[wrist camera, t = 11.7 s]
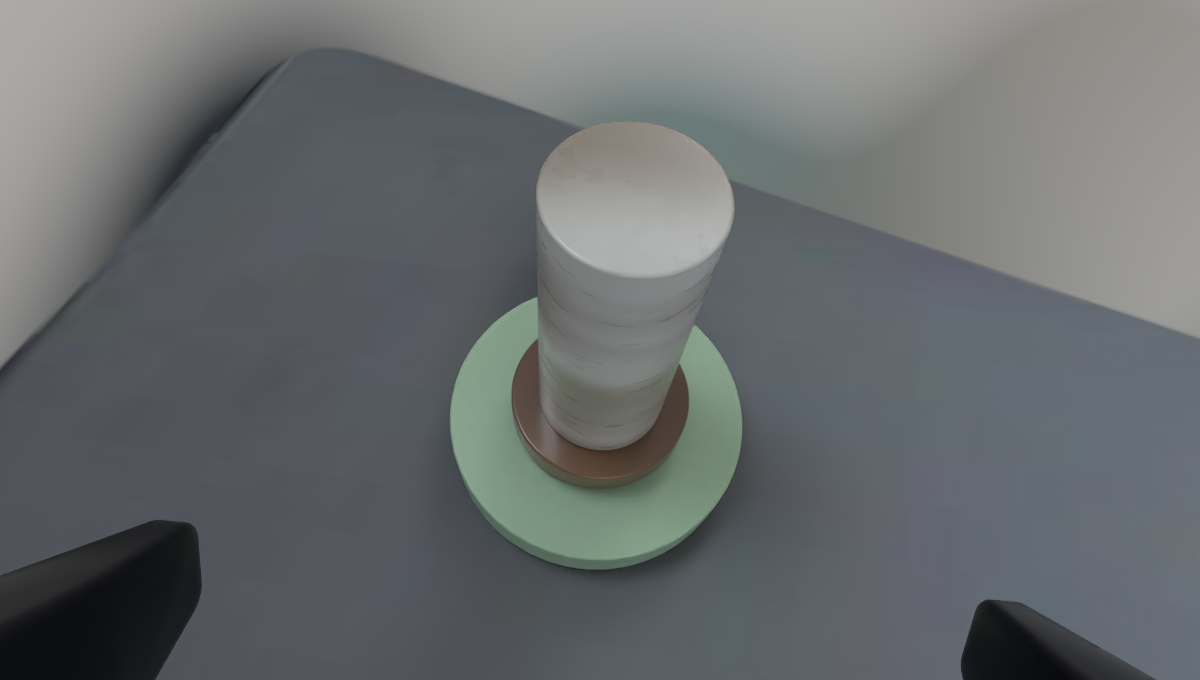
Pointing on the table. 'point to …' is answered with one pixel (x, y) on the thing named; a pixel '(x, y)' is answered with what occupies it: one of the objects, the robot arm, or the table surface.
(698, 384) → the stand
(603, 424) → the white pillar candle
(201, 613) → the table surface
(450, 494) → the table surface
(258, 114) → the table surface
